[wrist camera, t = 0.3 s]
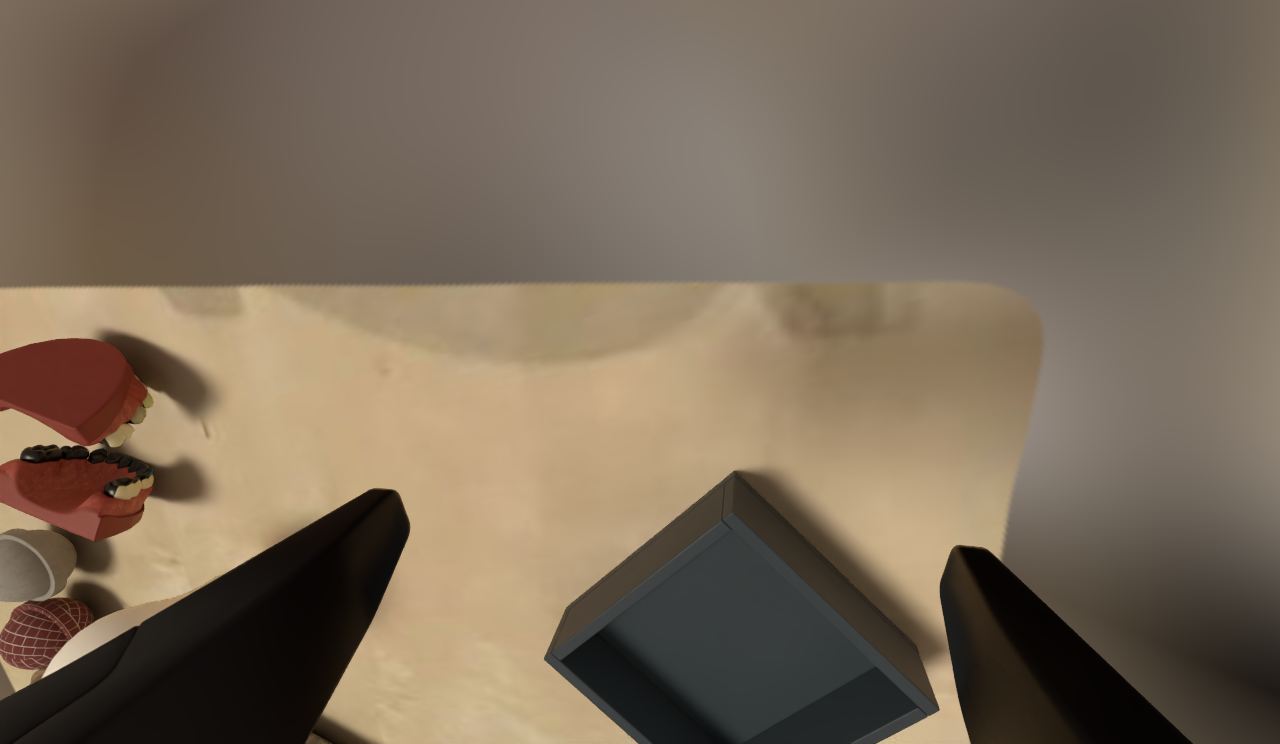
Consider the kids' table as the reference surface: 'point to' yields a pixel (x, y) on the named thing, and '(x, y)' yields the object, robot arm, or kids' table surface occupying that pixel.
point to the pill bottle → (316, 740)
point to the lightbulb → (108, 630)
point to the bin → (739, 638)
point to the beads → (38, 598)
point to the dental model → (76, 436)
